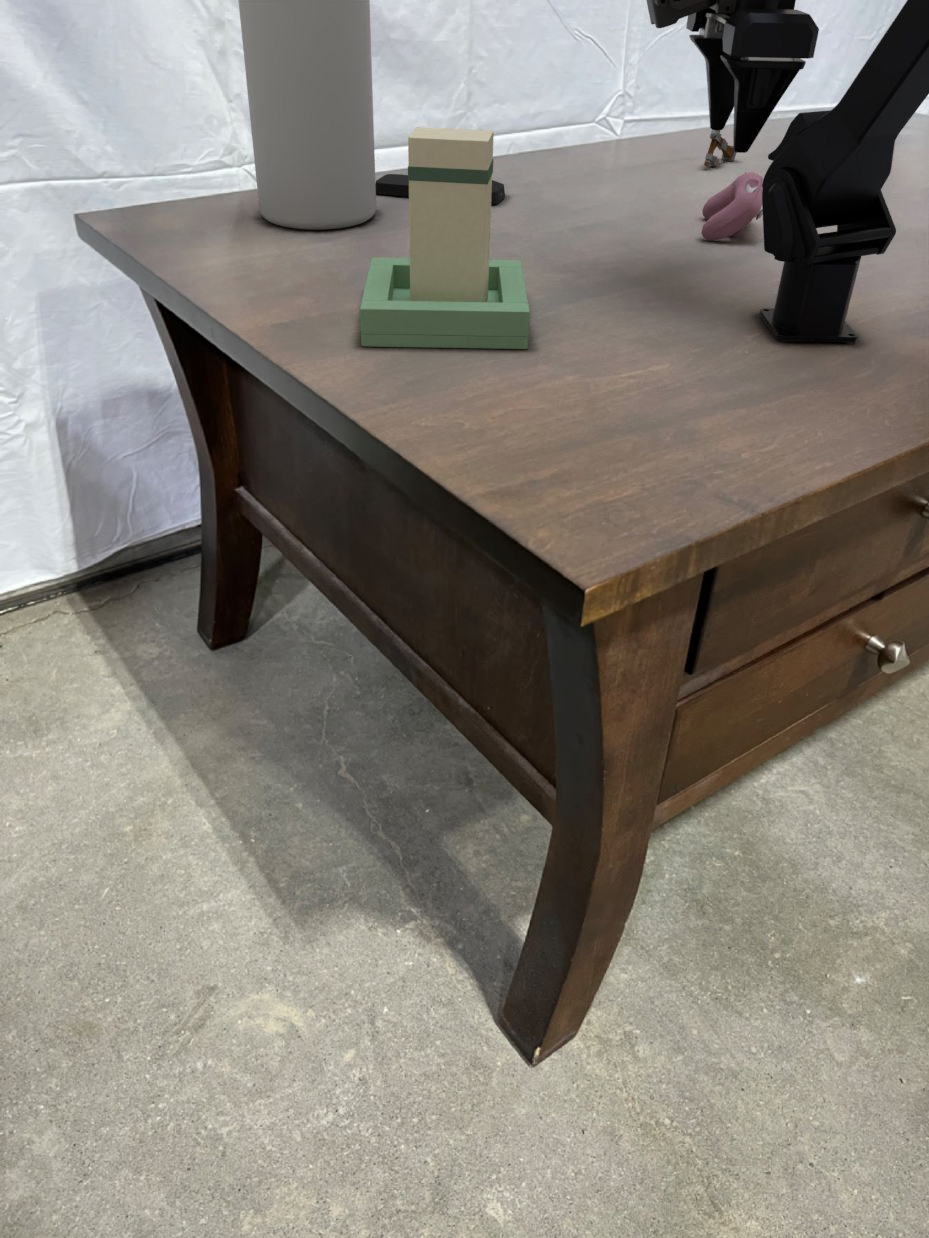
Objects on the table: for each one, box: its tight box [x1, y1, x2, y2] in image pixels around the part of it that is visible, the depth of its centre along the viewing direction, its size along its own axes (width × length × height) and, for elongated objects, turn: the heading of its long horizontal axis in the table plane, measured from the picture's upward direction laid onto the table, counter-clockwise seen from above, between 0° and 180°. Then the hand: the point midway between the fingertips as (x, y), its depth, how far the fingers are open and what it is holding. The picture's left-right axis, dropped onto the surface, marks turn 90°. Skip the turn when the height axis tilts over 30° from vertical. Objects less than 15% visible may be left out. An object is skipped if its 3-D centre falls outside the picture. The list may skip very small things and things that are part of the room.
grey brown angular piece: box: [703, 129, 737, 168], centre depth 130 cm, size 2×8×4 cm, turn 145°
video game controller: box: [701, 170, 764, 242], centre depth 104 cm, size 10×5×7 cm, turn 168°
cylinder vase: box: [238, 0, 377, 231], centre depth 99 cm, size 12×12×25 cm
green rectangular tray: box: [359, 256, 531, 350], centre depth 81 cm, size 13×13×3 cm
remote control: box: [375, 173, 506, 205], centre depth 115 cm, size 5×2×15 cm
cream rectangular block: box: [407, 126, 495, 302], centre depth 78 cm, size 6×4×13 cm
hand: (727, 140), depth 84 cm, fingers open, 9 cm apart
